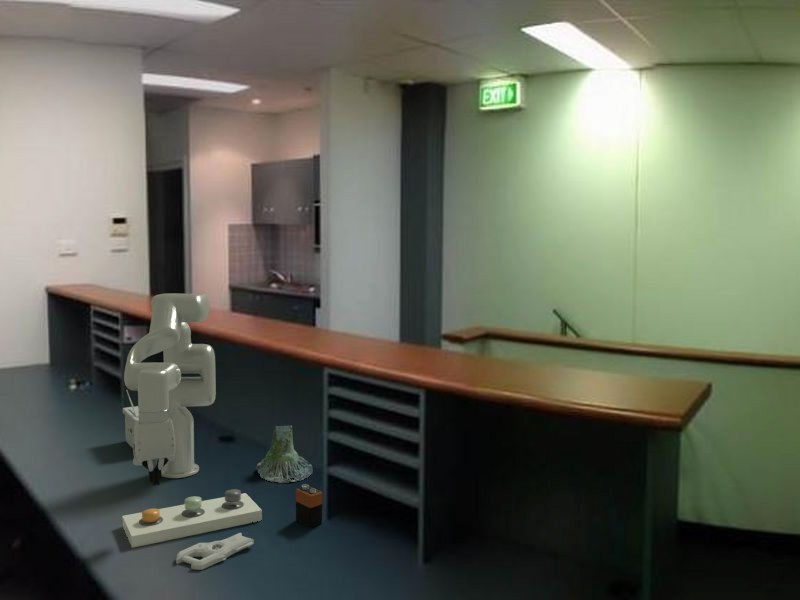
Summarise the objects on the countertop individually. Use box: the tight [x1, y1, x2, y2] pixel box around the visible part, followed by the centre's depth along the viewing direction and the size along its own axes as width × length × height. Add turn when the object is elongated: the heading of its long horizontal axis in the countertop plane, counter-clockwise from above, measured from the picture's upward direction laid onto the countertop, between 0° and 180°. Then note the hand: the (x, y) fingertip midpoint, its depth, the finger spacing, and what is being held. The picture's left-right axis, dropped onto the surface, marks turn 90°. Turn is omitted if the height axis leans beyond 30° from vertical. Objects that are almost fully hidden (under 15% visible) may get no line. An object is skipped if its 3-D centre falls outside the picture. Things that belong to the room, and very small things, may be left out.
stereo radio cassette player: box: [122, 389, 139, 449], centre depth 250 cm, size 21×8×20 cm, turn 35°
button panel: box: [121, 492, 263, 549], centre depth 187 cm, size 14×34×3 cm, turn 121°
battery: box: [295, 483, 323, 528], centre depth 190 cm, size 4×7×10 cm, turn 46°
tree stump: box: [255, 425, 313, 484], centre depth 229 cm, size 18×20×18 cm
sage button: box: [184, 495, 202, 510], centre depth 187 cm, size 4×4×2 cm
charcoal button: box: [224, 488, 242, 502], centre depth 193 cm, size 4×4×2 cm
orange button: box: [141, 507, 160, 523], centre depth 182 cm, size 4×4×2 cm
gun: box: [175, 532, 255, 571], centre depth 170 cm, size 18×3×10 cm
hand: (155, 483), depth 181 cm, fingers closed
